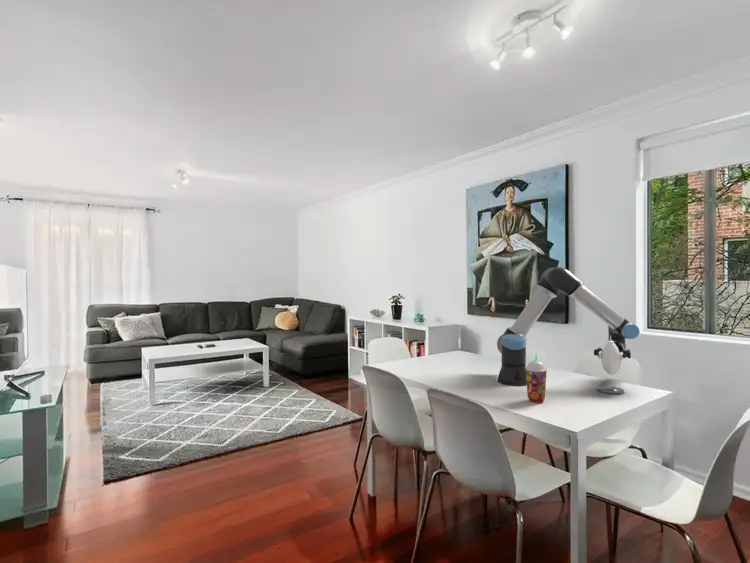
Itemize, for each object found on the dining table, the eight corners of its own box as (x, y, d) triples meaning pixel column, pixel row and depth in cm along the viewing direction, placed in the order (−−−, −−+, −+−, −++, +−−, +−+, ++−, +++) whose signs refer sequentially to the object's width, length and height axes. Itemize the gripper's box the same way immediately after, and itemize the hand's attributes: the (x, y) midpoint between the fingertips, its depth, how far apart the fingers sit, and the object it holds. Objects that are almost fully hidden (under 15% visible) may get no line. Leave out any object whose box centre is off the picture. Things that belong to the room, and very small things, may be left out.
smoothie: (537, 397, 186) (537, 352, 186) (551, 403, 178) (551, 355, 178) (521, 399, 183) (521, 353, 183) (534, 404, 175) (534, 356, 175)
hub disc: (620, 395, 189) (620, 393, 189) (593, 391, 197) (593, 388, 197) (627, 391, 197) (627, 388, 197) (601, 387, 204) (601, 384, 204)
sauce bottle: (625, 375, 195) (624, 335, 195) (613, 376, 191) (612, 336, 191) (609, 371, 202) (608, 333, 202) (598, 373, 198) (597, 335, 199)
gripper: (639, 359, 206) (636, 367, 187) (591, 355, 217) (585, 362, 198) (639, 343, 206) (636, 350, 187) (591, 340, 217) (584, 346, 198)
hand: (610, 356), depth 193 cm, fingers closed on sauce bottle, 8 cm apart
